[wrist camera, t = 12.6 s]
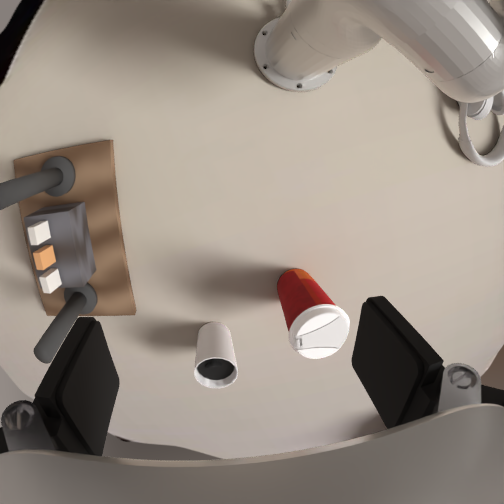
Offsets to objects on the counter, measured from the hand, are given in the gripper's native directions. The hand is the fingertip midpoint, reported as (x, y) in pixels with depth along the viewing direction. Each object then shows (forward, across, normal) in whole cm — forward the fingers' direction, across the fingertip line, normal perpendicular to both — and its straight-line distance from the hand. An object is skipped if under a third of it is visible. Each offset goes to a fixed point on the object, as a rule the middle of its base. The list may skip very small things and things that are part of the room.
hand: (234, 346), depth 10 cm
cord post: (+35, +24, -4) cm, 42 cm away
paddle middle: (+29, +24, +6) cm, 38 cm away
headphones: (+37, -51, -15) cm, 64 cm away
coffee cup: (+36, -12, +17) cm, 42 cm away
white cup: (+36, +2, +26) cm, 45 cm away
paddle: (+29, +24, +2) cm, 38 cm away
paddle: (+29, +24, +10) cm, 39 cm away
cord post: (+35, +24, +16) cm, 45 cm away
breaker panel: (+36, +24, +6) cm, 44 cm away
